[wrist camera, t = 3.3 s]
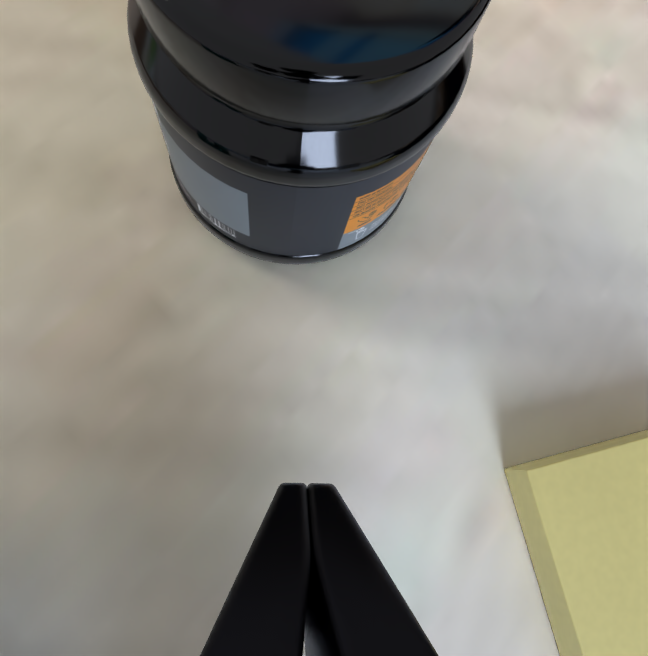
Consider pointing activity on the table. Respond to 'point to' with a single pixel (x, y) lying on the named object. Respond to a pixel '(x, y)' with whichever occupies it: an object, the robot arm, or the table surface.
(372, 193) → the supplement container
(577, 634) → the sticky notes
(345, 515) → the robot arm
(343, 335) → the table surface
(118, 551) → the table surface
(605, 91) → the table surface
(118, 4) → the table surface
